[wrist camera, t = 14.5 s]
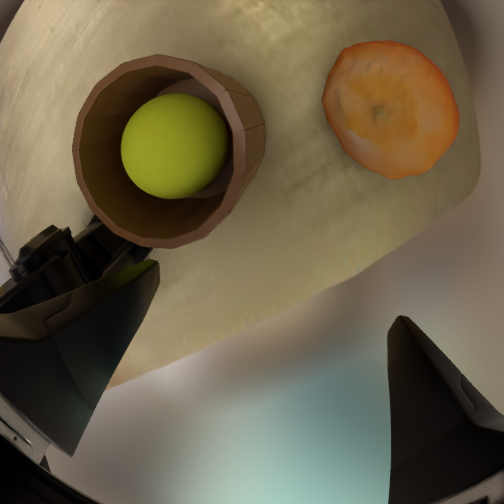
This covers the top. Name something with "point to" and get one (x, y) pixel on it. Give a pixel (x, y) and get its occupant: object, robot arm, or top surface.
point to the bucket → (112, 169)
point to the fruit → (390, 108)
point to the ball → (174, 146)
